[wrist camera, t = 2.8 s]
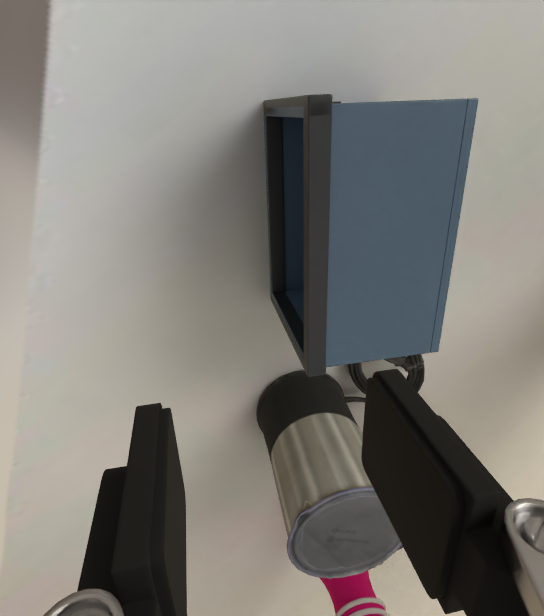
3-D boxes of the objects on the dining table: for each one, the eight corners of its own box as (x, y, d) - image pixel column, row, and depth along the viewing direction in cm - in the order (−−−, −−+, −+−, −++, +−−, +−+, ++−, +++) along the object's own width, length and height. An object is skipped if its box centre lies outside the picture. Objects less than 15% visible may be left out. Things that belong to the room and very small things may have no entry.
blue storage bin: (380, 96, 32) (483, 89, 21) (366, 289, 39) (439, 358, 28) (263, 100, 30) (308, 94, 20) (270, 299, 37) (307, 377, 26)
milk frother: (242, 436, 43) (269, 579, 30) (294, 299, 38) (356, 400, 24) (362, 451, 47) (432, 583, 34) (424, 331, 42) (536, 432, 29)
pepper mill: (327, 471, 48) (414, 686, 30) (360, 500, 51) (457, 710, 33) (278, 507, 48) (334, 737, 31) (313, 534, 52) (383, 756, 34)
